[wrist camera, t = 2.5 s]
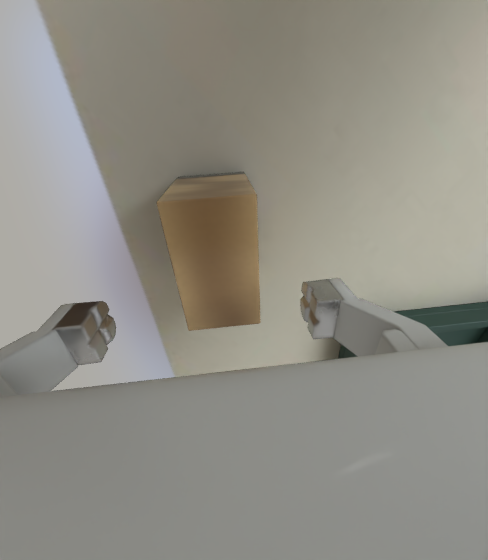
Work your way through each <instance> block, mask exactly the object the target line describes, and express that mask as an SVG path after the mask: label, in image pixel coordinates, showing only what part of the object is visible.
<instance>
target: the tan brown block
mask: <svg viewBox="0 0 488 560" xmlns="http://www.w3.org/2000/svg"><path fill="white" fill-rule="evenodd" d="M157 207H158V211H159V215H160V219H161V223H162V227H163V231H164V235H165V239H166V243H167V247H168V251H169V255H170V259H171V263H172V267H173V270H174V274H175V278H176V282H177V286H178V290H179V294H180V298H181V302H182V306H183V310H184V314H185V318H186V322H187V326H188V330H189V331H191V330H201V329H210V328H220V327H229V326H239V325H249V324H258V323H260V290H259V254H258V218H257V194H256V193H255V191H254V189H253V187H252V185H251V184H250V182H249V180H248V178H247V176H246V175H245V173H244V172H235V173H222V174H209V175H196V176H183V177H178V178H177V179H176V180H175V181H174V182H173V183H172V185H171V186H170V187H169V188H168V189H167V191H166V192H165V193H164V194H163V195H162V196H161V198H160V199H159V200H158V201H157Z"/></svg>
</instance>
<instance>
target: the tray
mask: <svg viewBox="0 0 488 560" xmlns="http://www.w3.org/2000/svg"><path fill="white" fill-rule="evenodd" d="M395 313H397V314H400V315H402V316H405V317H407V318H409V319H412V320H414V321H417V322H419V323H421V324H424V325H426V326H427V327H428V328H429V329H430V330H431V331H432V332H433V333H434V334H436V335H437V336H438V337H439V338H440V339H441V340H442V341H443V342H444V343H445V344H446V345H447V346H456V345H465V344H473V343H482V342H488V302H482V303H473V304H463V305H454V306H444V307H434V308H425V309H415V310H406V311H396V312H395ZM349 357H358V356H357V355H355V354H354V353H353V352H351V351H350V350H348V349H347V348H346V347H344V346H343V345H342V344H341V349H340V353H339V357H338V359H341V358H349Z"/></svg>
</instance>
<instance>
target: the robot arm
mask: <svg viewBox="0 0 488 560" xmlns="http://www.w3.org/2000/svg"><path fill="white" fill-rule="evenodd" d="M301 291H302V293H303V295H304V296H303V297H302V298H301V304H300V306H301V313H302V317H303V319H304V321H306V322H308V330H309V332H310V334H311V336H312V338H313V339H322V338H334V339H335V340H336V341H338V342H339V343H340V344H342V345H343V346H344V347H346V348H347V349H348V350H350V351H351V352H353V353H354V354H355V355H357V356H358V357H349V358H341V359H332V360H323V361H315V362H306V363H297V364H288V365H279V366H270V367H261V368H252V369H243V370H234V371H225V372H216V373H208V374H199V375H190V376H181V377H173V378H164V379H156V380H146V381H137V382H128V383H120V384H111V385H102V386H93V387H84V388H75V389H66V390H57V391H51V390H52V389H53V388H54V387H56V386H57V385H58V384H59V383H60V382H61V381H62V380H63V379H65V378H66V377H67V376H68V375H69V374H70V373H71V372H73V371H74V370H75V369H76V368H77V367H78V365H83V364H91V363H98V362H101V361H102V359H103V358H104V355H105V354H106V352H107V350H108V347H107V344H109V343H110V342H111V341H112V340H113V339H114V336H115V333H116V325H115V321H114V319H113V318H112V317H111V316H109V315H108V312H109V308H108V306H107V304H106V303H105V302H103V301H99V302H85V303H73V304H65V305H61V306H60V307H59V308H58V309H57V311H56V312H55V313H54V314H53V315H52V316H51V317H50V318H49V319H48V320H47V321H46V322H45V323H44V324H43V325H42V326H41V327H40V328H39V329H38V330H37V331H36V332H31V333H29V334H28V335H26V336H24V337H22V338H20V339H18V340H16V341H14V342H13V343H10V344H9V345H7V346H5V347H3V348H1V349H0V560H488V342H482V343H473V344H465V345H456V346H447V345H446V344H445V343H444V342H443V341H442V340H441V339H440V338H439V337H438V336H437V335H436V334H434V333H433V332H432V331H431V330H430V329H429V328H428V327H427V326H426V325H424V324H421V323H419V322H417V321H414V320H412V319H409V318H407V317H405V316H402V315H400V314H397V313H395V312H393V311H390V310H388V309H385V308H383V307H381V306H378V305H376V304H373V303H371V302H369V301H366V300H364V299H358V298H357V297H356V296H355V295H354V294H353V293H352V291H351V290H350V289H349V288H348V287H347V286H346V284H345V283H344V282H343V281H342V280H341V279H340V278H332V279H325V280H316V281H308V282H303V284H302V290H301Z"/></svg>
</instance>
